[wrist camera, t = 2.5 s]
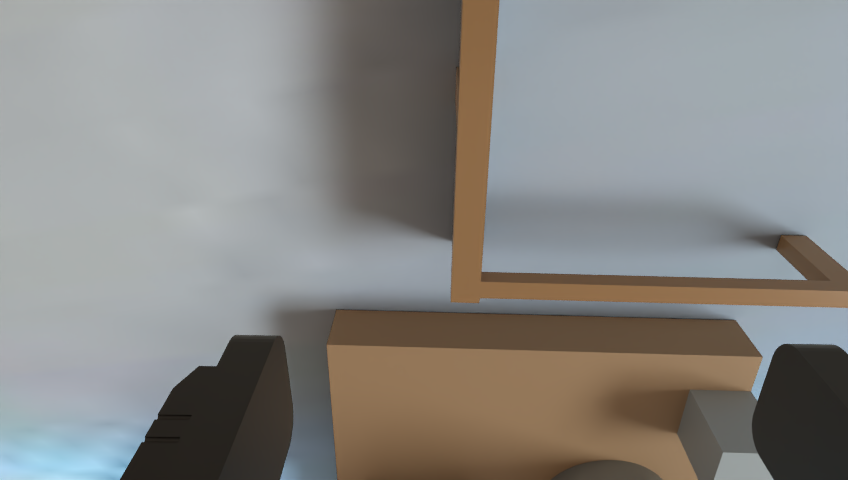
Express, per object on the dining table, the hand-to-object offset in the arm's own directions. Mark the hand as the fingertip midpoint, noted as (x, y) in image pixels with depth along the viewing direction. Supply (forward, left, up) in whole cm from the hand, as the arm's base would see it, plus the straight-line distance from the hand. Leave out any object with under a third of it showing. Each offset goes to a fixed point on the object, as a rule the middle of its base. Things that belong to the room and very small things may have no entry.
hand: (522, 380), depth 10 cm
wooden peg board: (+22, +4, -18) cm, 29 cm away
